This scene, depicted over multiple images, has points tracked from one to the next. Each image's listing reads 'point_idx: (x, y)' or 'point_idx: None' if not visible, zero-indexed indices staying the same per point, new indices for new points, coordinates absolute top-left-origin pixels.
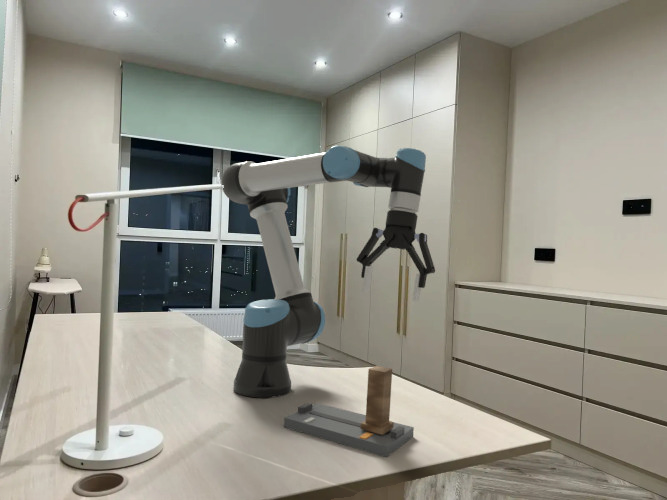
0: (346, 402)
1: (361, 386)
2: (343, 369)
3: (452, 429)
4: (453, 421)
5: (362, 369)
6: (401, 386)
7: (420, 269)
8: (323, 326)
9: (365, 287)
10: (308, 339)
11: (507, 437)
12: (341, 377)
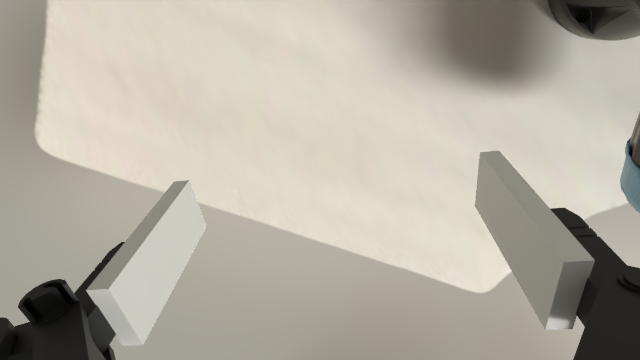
0: (400, 46)
1: (433, 169)
2: None
3: (157, 69)
4: (183, 113)
5: (492, 271)
6: (369, 228)
7: (61, 326)
8: (631, 194)
9: (489, 169)
10: (635, 126)
11: (76, 108)
12: None
